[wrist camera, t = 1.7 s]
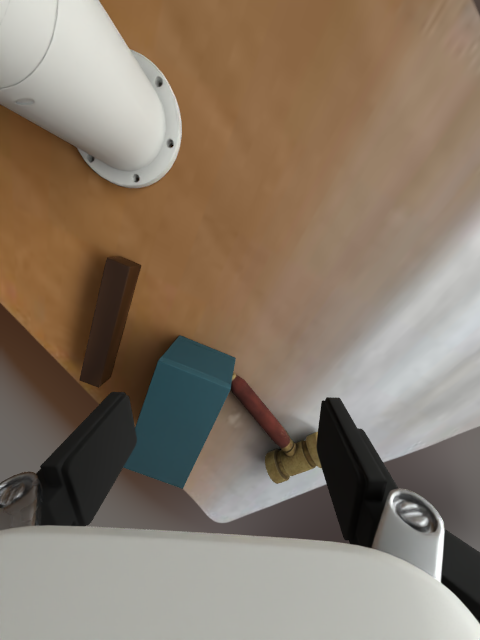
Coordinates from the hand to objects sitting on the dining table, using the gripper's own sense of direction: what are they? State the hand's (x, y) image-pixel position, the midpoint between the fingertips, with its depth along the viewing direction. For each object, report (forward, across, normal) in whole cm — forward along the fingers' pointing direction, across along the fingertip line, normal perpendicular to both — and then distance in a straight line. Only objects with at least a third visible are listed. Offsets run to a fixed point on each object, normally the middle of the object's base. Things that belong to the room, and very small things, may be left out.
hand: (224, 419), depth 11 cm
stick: (+22, +19, +3) cm, 29 cm away
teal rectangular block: (+22, +9, +15) cm, 28 cm away
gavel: (+22, -4, +18) cm, 29 cm away
